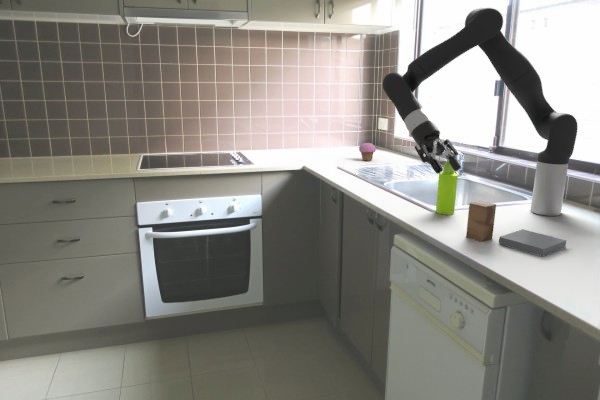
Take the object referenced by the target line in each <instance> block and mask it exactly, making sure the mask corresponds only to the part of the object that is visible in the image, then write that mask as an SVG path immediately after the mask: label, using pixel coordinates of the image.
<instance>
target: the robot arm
mask: <svg viewBox="0 0 600 400" xmlns="http://www.w3.org/2000/svg"><path fill="white" fill-rule="evenodd" d="M503 25H504V17H503V14H502V13H501V12H500V11H499V10H498V9H497V8H496V9H495V8H493V7H478V8H476V9H473V10H470V12H469V13H468V14H467V15H466V17H465V21H464V27H463V28H462V29H460V30H459V31H458V32H457V33H455V34H454V35H452V36H450V37H449V38H447V39H446V40H444V41H442V42H441V43H438V44H437V45H434V46H433V47H431V48H430V49H428V50H426V51H424V53H422V54H421V55H419V56H418V57H417V58H415V59H414V60H412V61H410V63H409V64H408V65H407V69H406V70H407V71H406V72H405V73H404V74H403V75H402V74H400V73H399V72H389V73H387V74H386V75H385V76H384V78H383V79H382V84H381V85H382V90H383V91H384V92H385V94H386V96H387V99H389V100H390V101H391V102H392V104H393V106H394V107H395V109H396V111H397V114H398V115H399V117H400V118H401V120H402V121H403V123H404V125H405V127H406V129H407V131H408V133H409V134H410V135H411V137H412V138H413V141H415V143H416V144H415V145H414V149H415V151H416V152H417V155H418V157H420V160H421V162H422V163H423V164H424V163H427V164H429V165H430V166H431V168H432V169H433V170H434V172H435V173H436V174H437V175H439V173H442V172H443V169H444V167H443V166H442V165H441V164H440V162H439V160H438V159H436V158H437V157H440V158H441V159H445V160H446V161H447V160H448V161H449V163H450V165H451V166H452V168H453V169H454V172H458V171H460V169H462V166H461V164H460V162H459V161H458V160H457V158H456V157H457V156H458V155H459V152H458V151H457V150H456V148H455V147H454V145H453V143H452V142H451V141H450V139H445V140H442V139H441V138H440V134H441V132H440V131H441V130H440V129H439V128H438V127H437V125H436V124H435V122H434V121H433V119H432V118H431V116H430V115H429V113H428V112H427V111H426V110H425V109H424V107H423V105H422V104H421V103H420V101H419V100H418V99H417V97H416V96H415V95H414V94H413V92H415V90H416V89H418V87H419V86H420V85H421V84H422V83H423V82H424V81H426V80H427V79H429V78H430V77H432V76H434V74H436V73H437V72H438V71H439V70H441V69H443V68H444V67H445V66H448V64H450V63H451V62H452V61H454V60H455V59H457V58H459V57H460V56H461V55H463V54H465V53H467V52H468V51H470V50H472V49H473V48H475V47H477V46H478V47H479V48H480V49H481V50H482V51H483V53H484V55H486V56H487V59H488V60H489V61H490V63H491V65H492V66H493V68H494V70H495V71H496V73H497V75H498V76H499V77H500V79H501V80H502V82H503V83H504V85H505V86H506V88H507V89H508V90H509V91H510V93H511V95H513V97H514V98H515V99H516V101H517V103H519V105H520V106H521V107H522V109H523V110H524V112H525V113H526V115H527V117H528V118H529V120H530V121H531V123H532V126H533V128H534V129H535V131H536V132H537V134H538V135H539V137H541V138H542V139H543V140H546V141H547V142H546V148H545V149H544V150H541V151H540V152H538V154H537V160H536V168H535V176H534V183H533V190H532V198H531V202H530V203H531V204H530V212H531V213H533V214H537V215H541V216H549V217H550V216H551V217H552V216H553V217H554V216H556V217H557V216H560V215H561V214H562V207H563V201H564V196H565V188H566V182H567V174H568V169H569V162H570V158H572V157H571V156H573V153H574V150H575V149H574V148H575V143H576V139H577V135H578V121H577V119H576V117H575V116H573V115H572V114H570V113H564V112H557V111H555V110H554V108H553V107H552V106H551V105H550V103H549V102H548V100H546V97H545V96H544V91H543V85H542V80H541V76H540V75H539V73H538V72H537V70H536V69H535V68H534V66H533V64H532V63H531V62H530V60H529V59H528V58H527V57H526V56H525V55H524V54H523V53H522V52H520V50H518V49H517V48H516V47H515V46H514V45H513V44H511V42H509V40H508V39H507V38H506V37H505V35H504V34H503V32H502V31H501V30H502V28H503V27H504V26H503ZM447 154H448V156H449V157H448V156H447ZM424 155H425V156H424Z"/></svg>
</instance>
